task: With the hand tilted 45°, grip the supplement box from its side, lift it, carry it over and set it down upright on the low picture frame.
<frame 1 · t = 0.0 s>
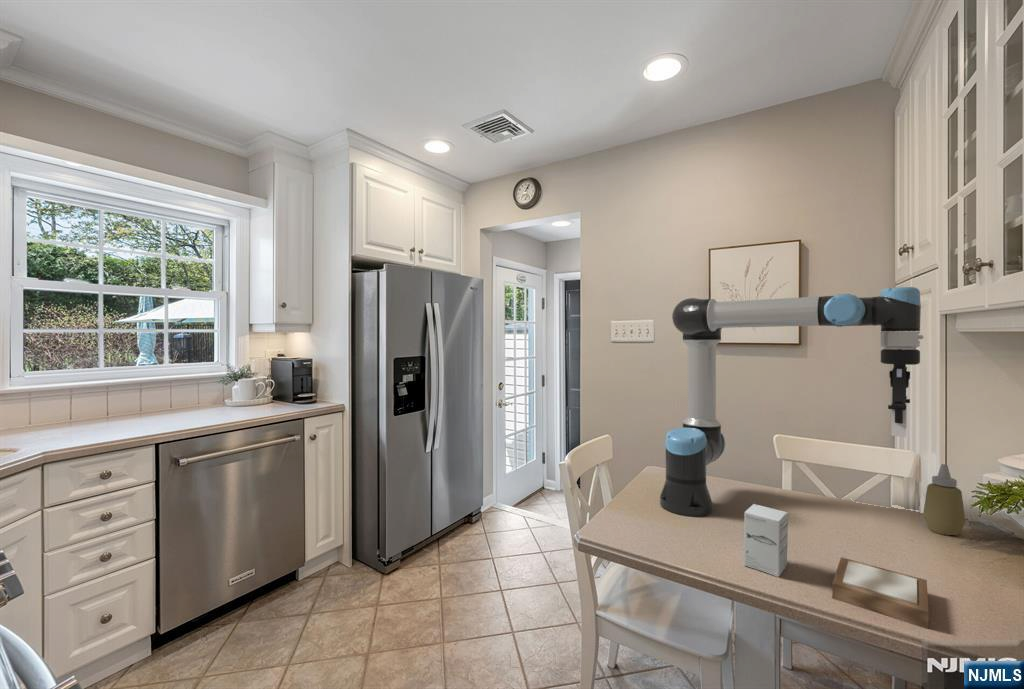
hand: (899, 431, 112), 28 cm above the table, tool pointing down, fingers open, 13 cm apart
supplement box: (765, 566, 101), on the table
picture frame: (879, 596, 89), on the table
squeeze bottle: (943, 532, 117), on the table
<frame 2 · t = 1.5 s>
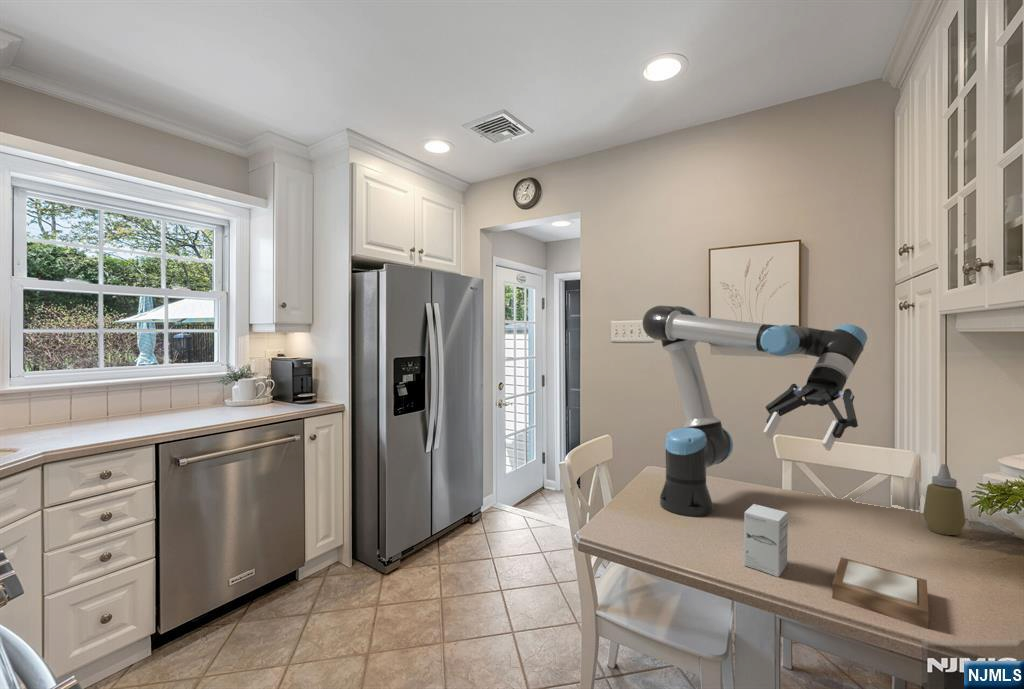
hand: (794, 440, 105), 28 cm above the table, tool tilted 45°, fingers open, 13 cm apart
nothing on the table moved.
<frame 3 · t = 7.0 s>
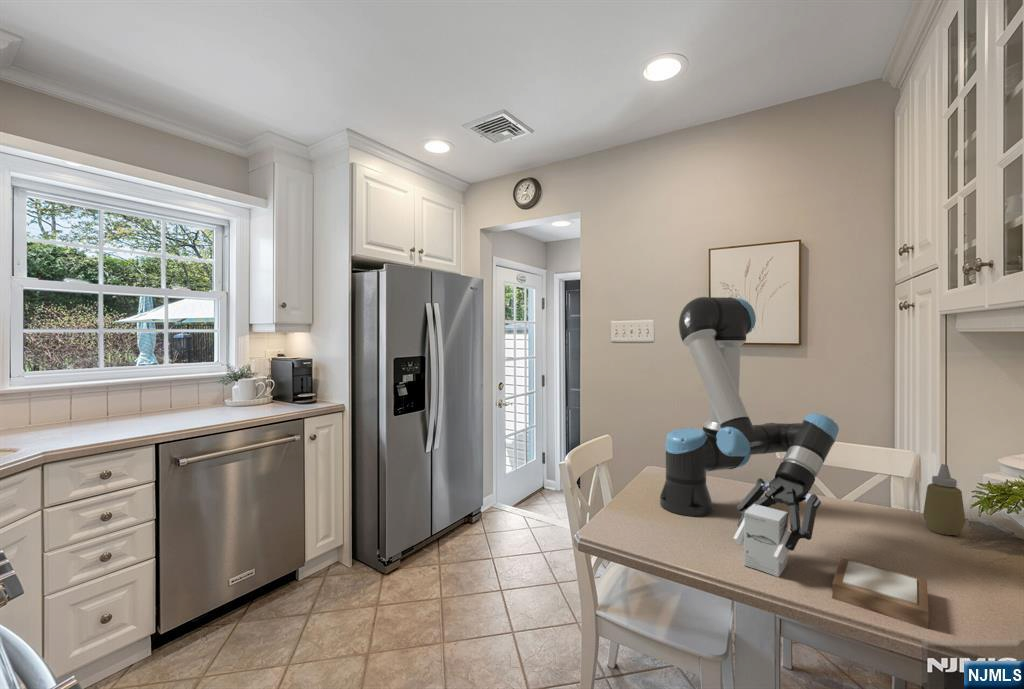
hand: (756, 550, 99), 4 cm above the table, tool tilted 45°, fingers closed on supplement box, 9 cm apart
supplement box: (765, 566, 101), on the table, touching gripper
everything else where it was.
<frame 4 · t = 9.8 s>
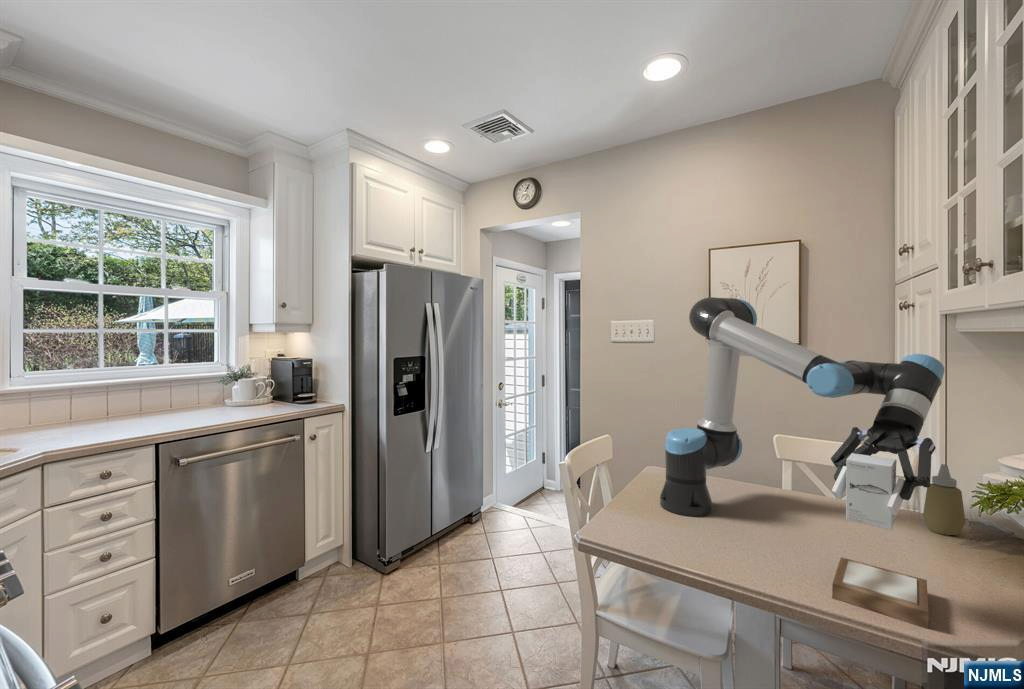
hand: (862, 502, 87), 19 cm above the table, tool tilted 45°, fingers closed on supplement box, 9 cm apart
supplement box: (871, 521, 89), point 15 cm above the table, touching gripper
everything else where it was.
when the fingers open (9 cm above the table, at t = 12.7 s): supplement box drops 1 cm, resting on picture frame.
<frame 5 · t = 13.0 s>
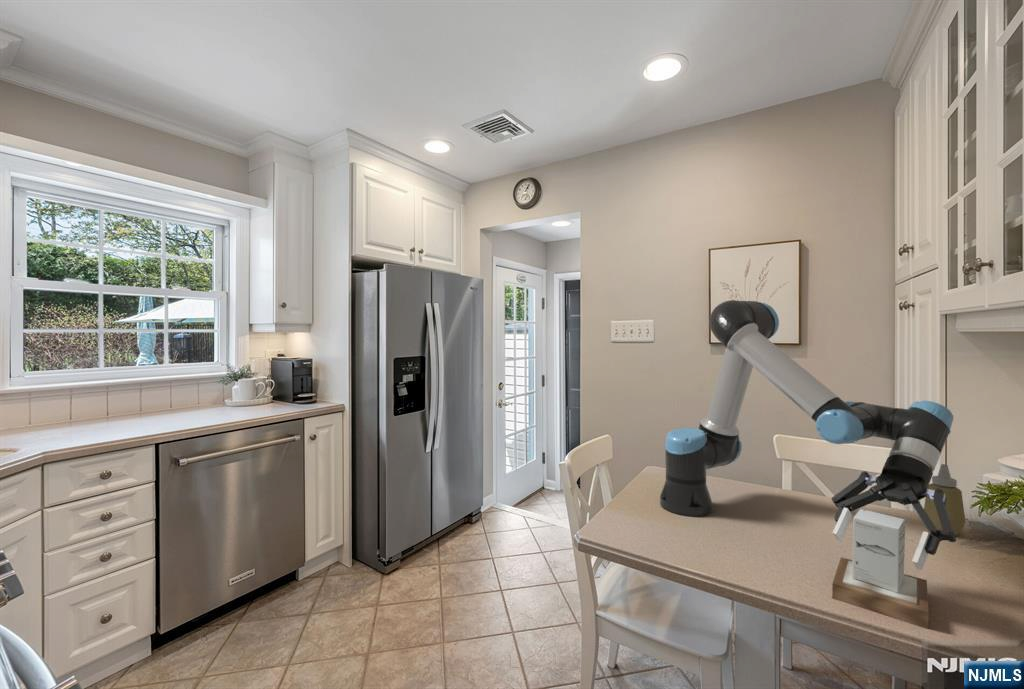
hand: (874, 550, 87), 10 cm above the table, tool tilted 45°, fingers open, 13 cm apart
supplement box: (878, 580, 89), point 3 cm above the table, touching picture frame
everything else where it was.
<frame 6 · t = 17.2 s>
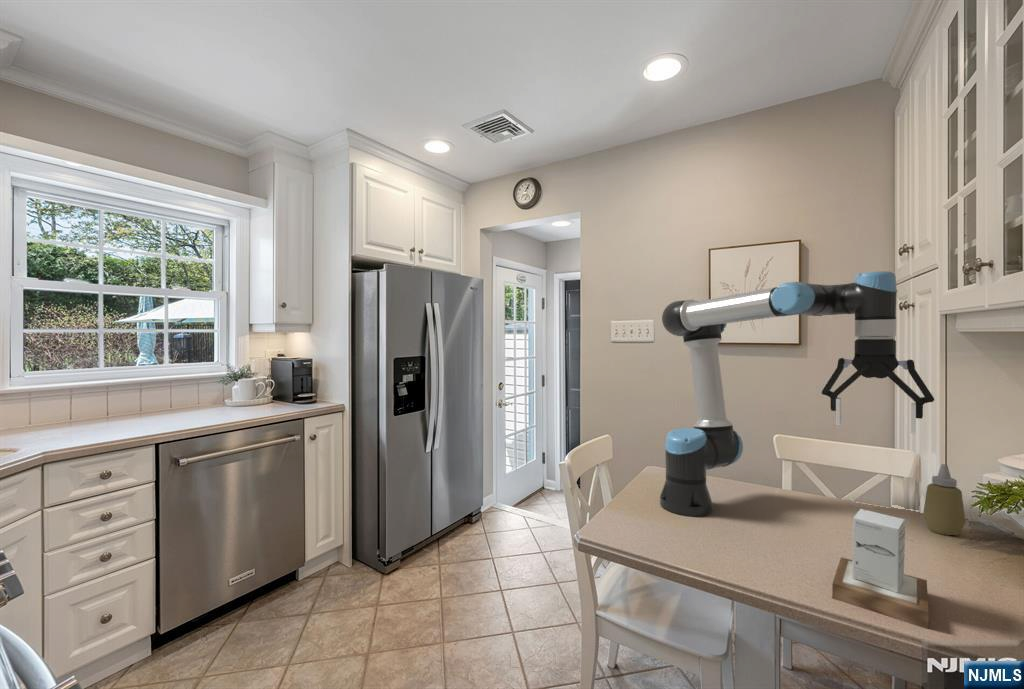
hand: (874, 428, 103), 31 cm above the table, tool pointing down, fingers open, 13 cm apart
nothing on the table moved.
at the end: supplement box inside the target area on the picture frame (0.3 cm from its centre), point 3.1 cm above the picture frame's base; supplement box tilted 0°; the gripper is holding nothing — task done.
